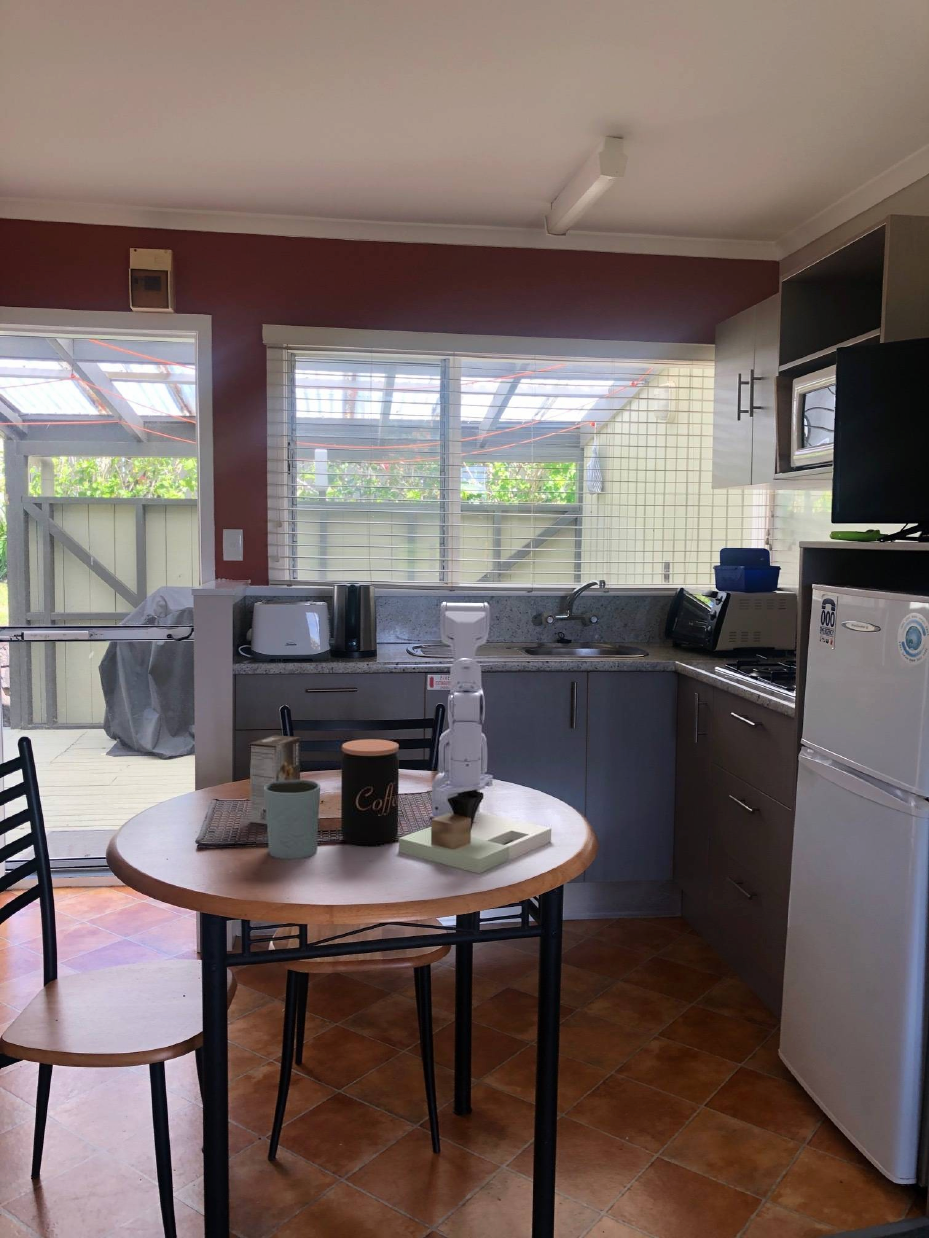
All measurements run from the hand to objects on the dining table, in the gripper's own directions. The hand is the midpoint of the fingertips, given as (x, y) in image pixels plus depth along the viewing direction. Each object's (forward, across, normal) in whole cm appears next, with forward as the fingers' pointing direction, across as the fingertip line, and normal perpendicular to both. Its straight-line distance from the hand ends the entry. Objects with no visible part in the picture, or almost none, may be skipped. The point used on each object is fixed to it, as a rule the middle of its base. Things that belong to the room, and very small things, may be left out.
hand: (464, 831), depth 170 cm
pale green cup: (+4, -20, +24) cm, 31 cm away
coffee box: (+4, -8, +42) cm, 43 cm away
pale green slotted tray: (+4, +4, 0) cm, 5 cm away
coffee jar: (+4, -6, +18) cm, 19 cm away
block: (+1, -4, 0) cm, 4 cm away
